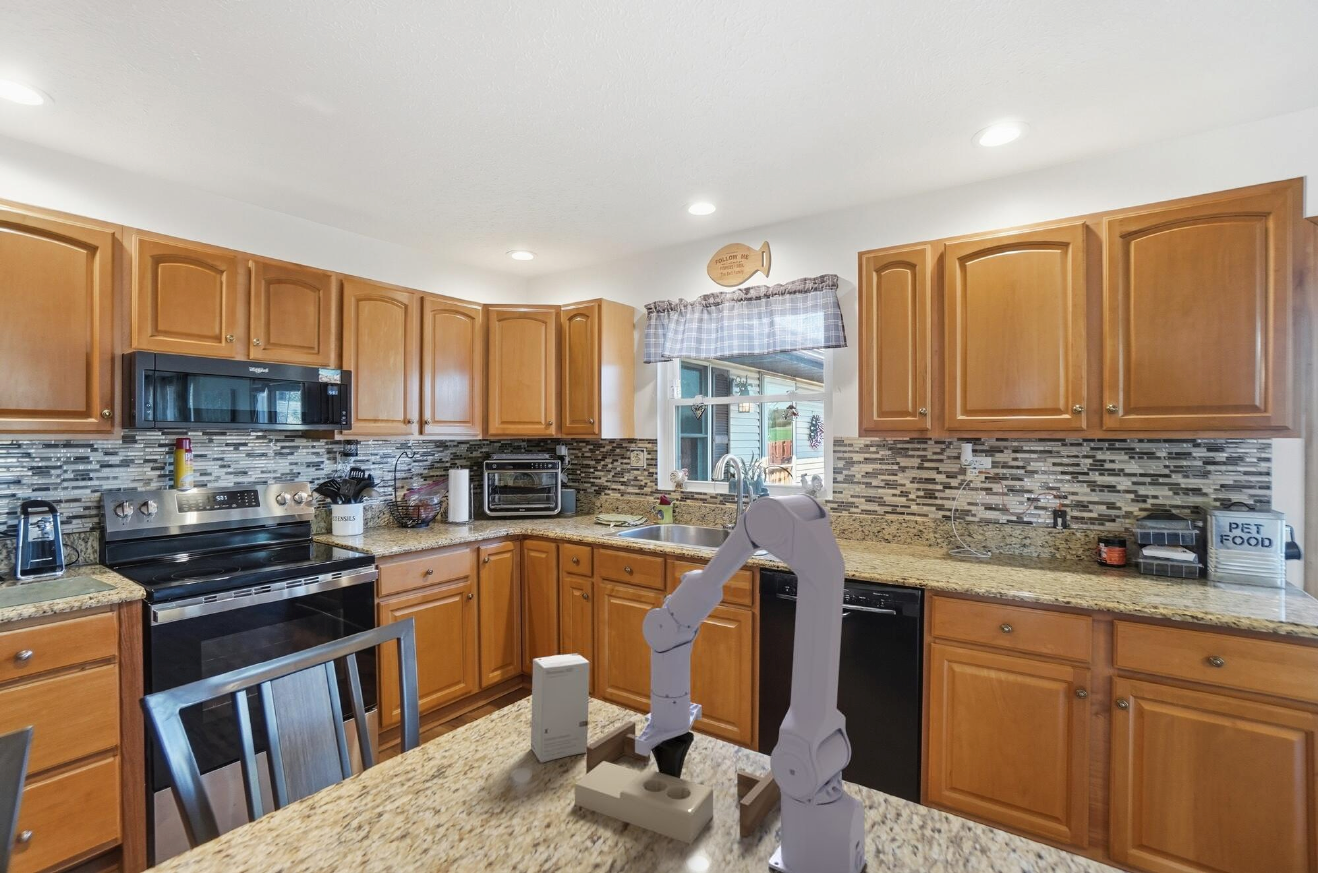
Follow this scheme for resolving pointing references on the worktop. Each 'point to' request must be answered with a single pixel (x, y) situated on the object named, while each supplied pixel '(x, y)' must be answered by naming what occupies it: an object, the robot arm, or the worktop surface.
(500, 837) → the worktop surface
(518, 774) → the worktop surface
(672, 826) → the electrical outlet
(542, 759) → the skincare box
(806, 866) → the robot arm
